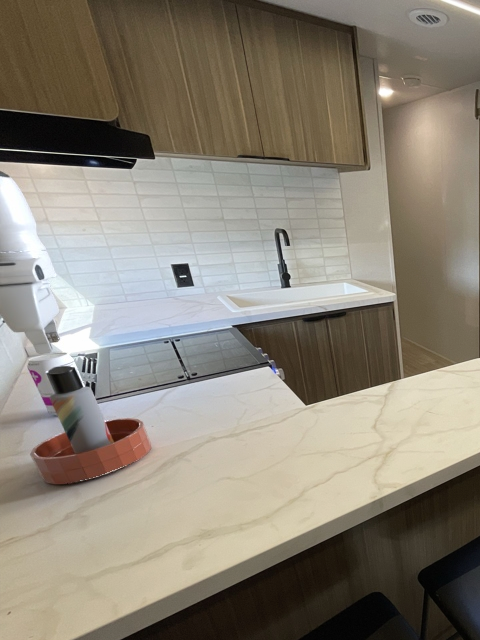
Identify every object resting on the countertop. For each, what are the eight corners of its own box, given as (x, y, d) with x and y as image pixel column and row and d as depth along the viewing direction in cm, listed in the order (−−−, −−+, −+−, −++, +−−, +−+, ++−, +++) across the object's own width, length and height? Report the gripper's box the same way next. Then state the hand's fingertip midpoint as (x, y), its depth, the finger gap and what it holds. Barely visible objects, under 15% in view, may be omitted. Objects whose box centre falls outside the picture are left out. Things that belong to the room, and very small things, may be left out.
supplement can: (50, 419, 102) (24, 364, 97) (49, 410, 107) (24, 357, 102) (94, 408, 108) (71, 355, 102) (91, 400, 113) (69, 350, 108)
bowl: (37, 498, 71) (21, 469, 69) (51, 461, 83) (38, 435, 81) (153, 463, 81) (142, 437, 79) (151, 434, 93) (142, 411, 91)
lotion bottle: (114, 449, 86) (77, 361, 79) (122, 457, 83) (84, 366, 75) (78, 462, 81) (34, 369, 74) (84, 471, 78) (40, 375, 71)
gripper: (3, 267, 74) (35, 339, 79) (-30, 275, 59) (11, 363, 64) (52, 264, 78) (80, 333, 83) (32, 271, 63) (67, 355, 68)
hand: (50, 347), depth 73 cm, fingers open, 8 cm apart
